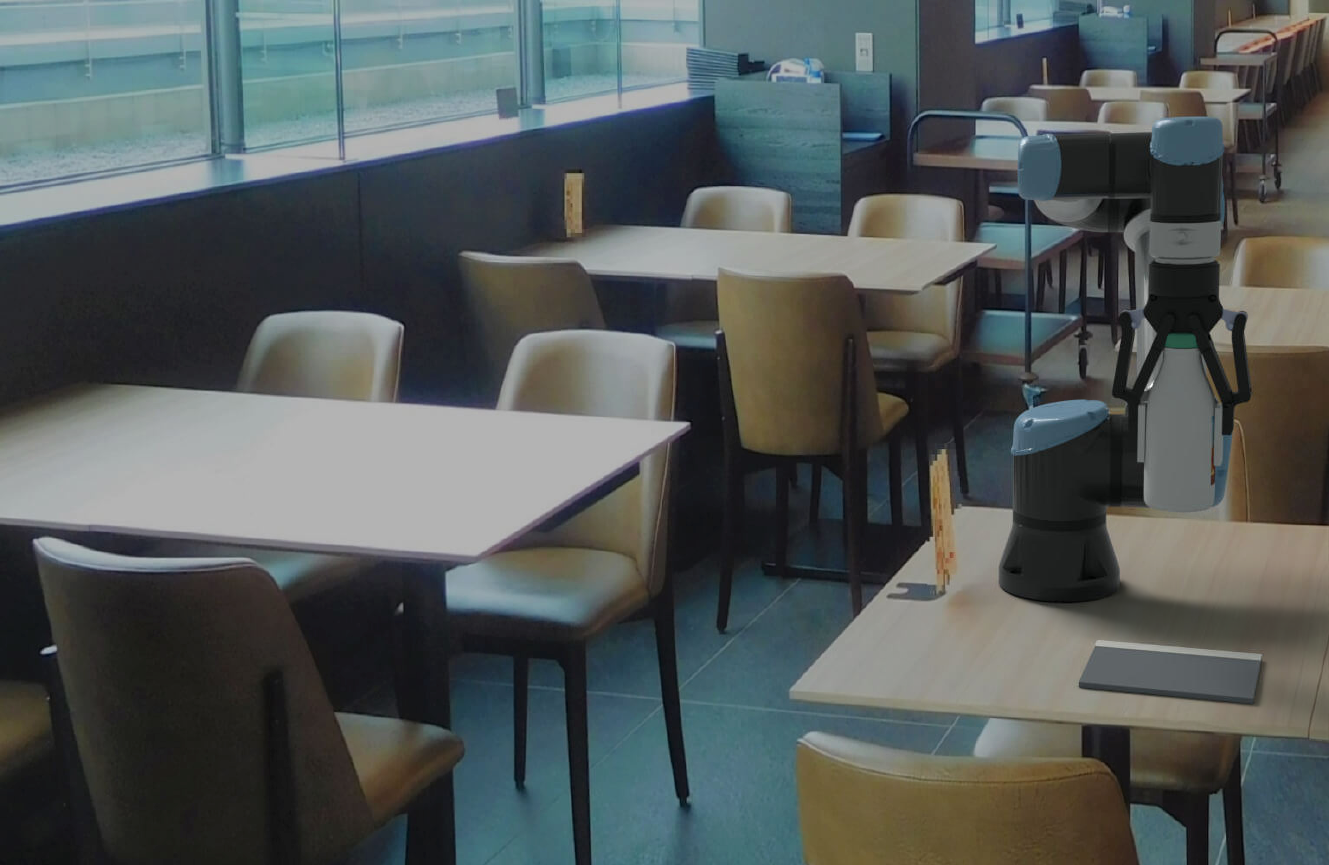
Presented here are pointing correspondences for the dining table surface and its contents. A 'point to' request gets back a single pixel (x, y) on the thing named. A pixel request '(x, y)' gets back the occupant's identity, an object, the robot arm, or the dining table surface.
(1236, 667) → the mat
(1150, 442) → the milk bottle
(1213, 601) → the dining table surface
